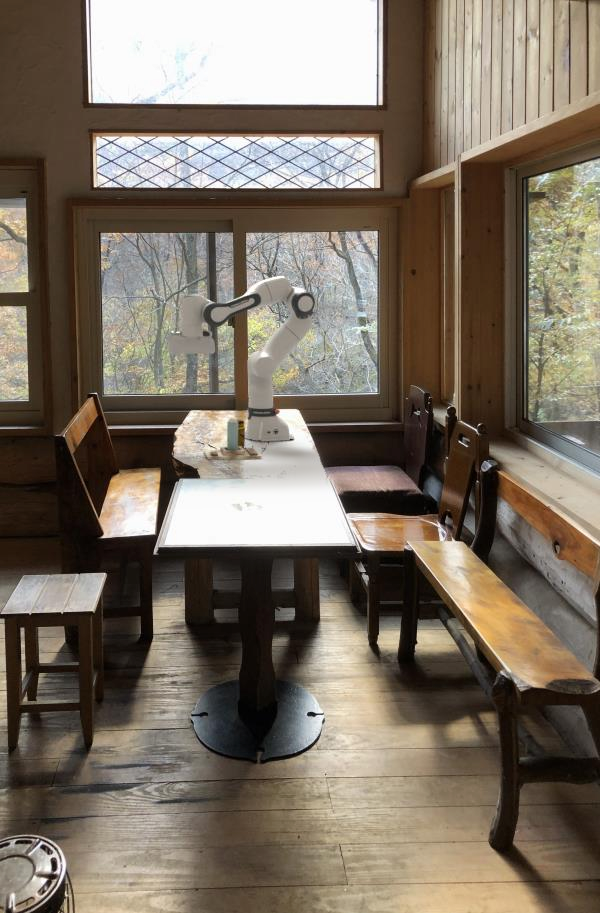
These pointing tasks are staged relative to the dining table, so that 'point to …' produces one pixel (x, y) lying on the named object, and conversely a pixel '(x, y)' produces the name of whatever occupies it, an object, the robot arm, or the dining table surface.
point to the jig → (232, 453)
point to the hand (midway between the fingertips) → (191, 364)
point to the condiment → (241, 434)
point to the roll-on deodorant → (232, 434)
